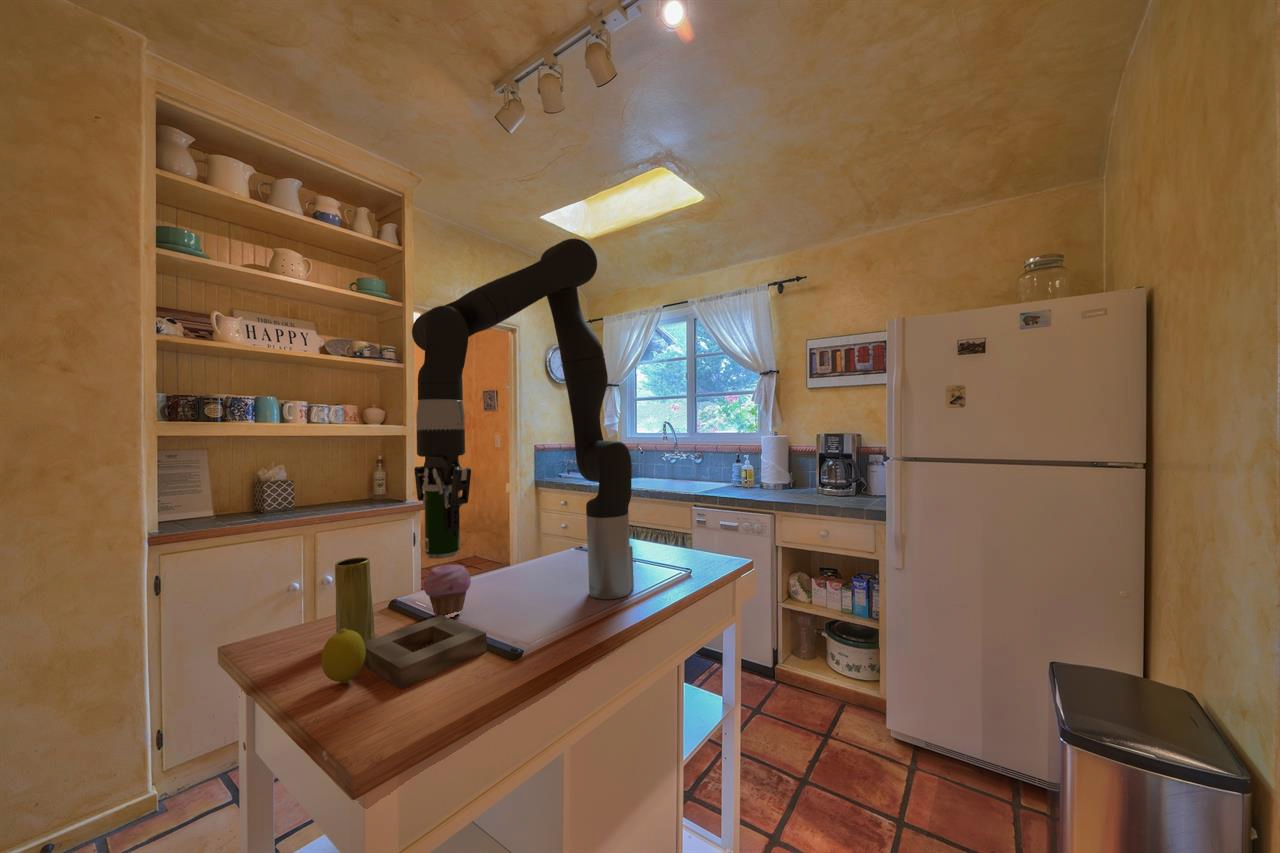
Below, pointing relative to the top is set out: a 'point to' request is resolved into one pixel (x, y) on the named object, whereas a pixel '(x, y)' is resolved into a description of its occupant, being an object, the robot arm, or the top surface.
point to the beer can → (438, 526)
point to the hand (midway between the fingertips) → (442, 528)
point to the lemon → (343, 655)
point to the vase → (354, 597)
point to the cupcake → (447, 588)
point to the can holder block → (423, 650)
